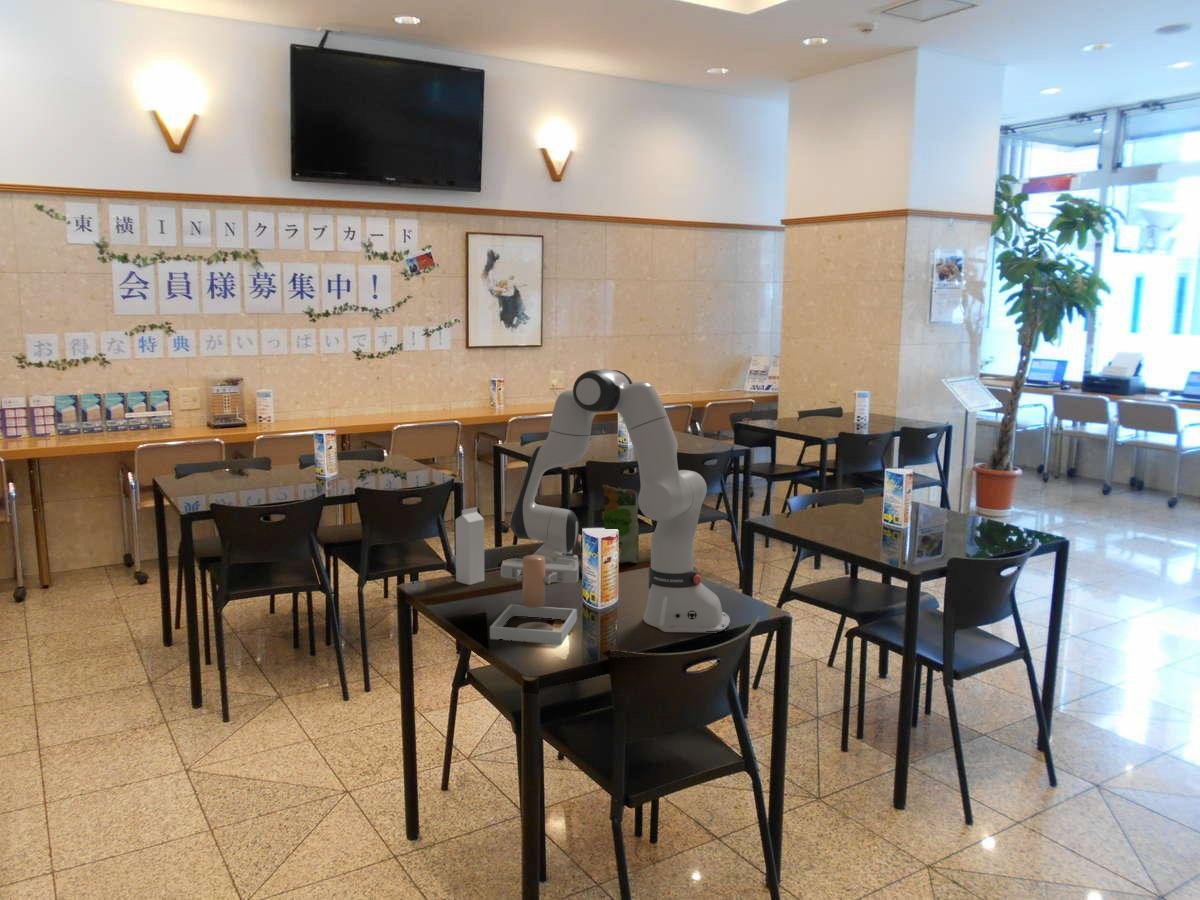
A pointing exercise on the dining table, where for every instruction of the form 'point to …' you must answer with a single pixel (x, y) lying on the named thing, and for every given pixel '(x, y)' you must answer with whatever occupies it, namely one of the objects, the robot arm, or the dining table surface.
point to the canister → (533, 581)
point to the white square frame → (532, 634)
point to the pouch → (623, 520)
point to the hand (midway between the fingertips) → (533, 579)
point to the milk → (469, 547)
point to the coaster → (536, 626)
